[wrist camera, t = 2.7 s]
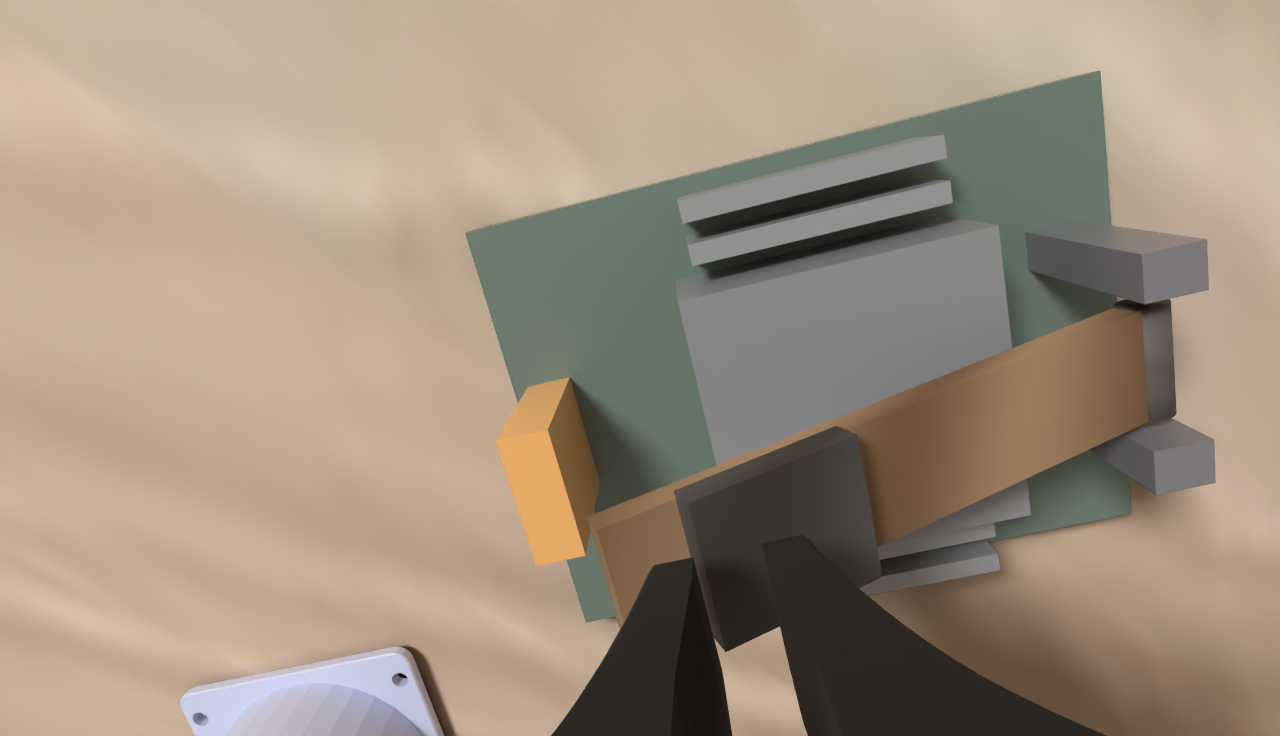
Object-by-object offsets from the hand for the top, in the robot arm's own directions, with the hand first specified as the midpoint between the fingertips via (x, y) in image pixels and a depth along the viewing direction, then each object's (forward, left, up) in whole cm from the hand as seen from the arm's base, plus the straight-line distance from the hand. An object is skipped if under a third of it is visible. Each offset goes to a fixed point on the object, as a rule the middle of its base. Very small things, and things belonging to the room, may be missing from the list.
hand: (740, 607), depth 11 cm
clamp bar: (0, -4, -4) cm, 6 cm away
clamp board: (0, -3, -10) cm, 11 cm away
